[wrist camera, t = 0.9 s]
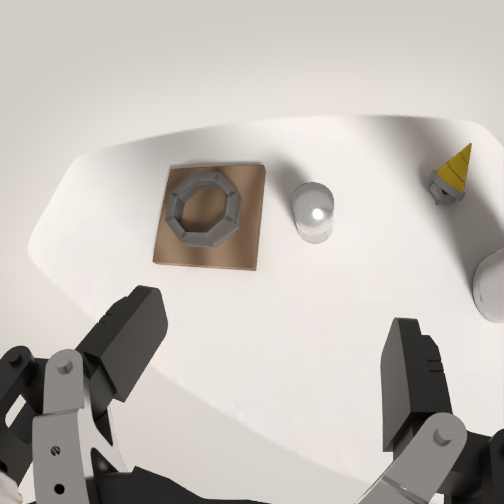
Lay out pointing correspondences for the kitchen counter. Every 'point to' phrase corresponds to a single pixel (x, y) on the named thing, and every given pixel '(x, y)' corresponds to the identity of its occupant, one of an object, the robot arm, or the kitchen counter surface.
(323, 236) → the steel peg
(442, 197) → the drill bit
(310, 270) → the kitchen counter surface
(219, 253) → the socket board
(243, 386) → the kitchen counter surface
